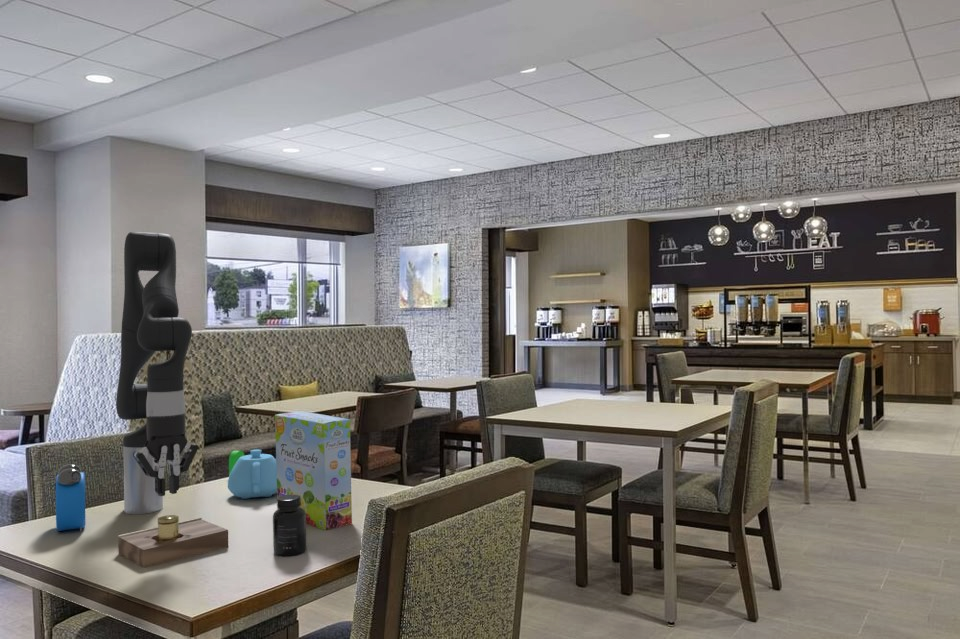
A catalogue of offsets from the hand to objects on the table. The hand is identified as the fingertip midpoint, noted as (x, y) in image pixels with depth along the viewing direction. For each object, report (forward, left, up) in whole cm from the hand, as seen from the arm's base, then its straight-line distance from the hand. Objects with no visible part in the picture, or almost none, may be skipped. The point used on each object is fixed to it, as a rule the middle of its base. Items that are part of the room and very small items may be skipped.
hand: (167, 494), depth 154 cm
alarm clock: (-37, -7, -13) cm, 40 cm away
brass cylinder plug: (0, 0, -13) cm, 13 cm away
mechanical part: (-61, +53, -13) cm, 82 cm away
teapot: (-33, +42, -13) cm, 55 cm away
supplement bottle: (+18, +18, -13) cm, 29 cm away
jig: (-1, +2, -13) cm, 13 cm away
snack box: (0, +36, -13) cm, 38 cm away
